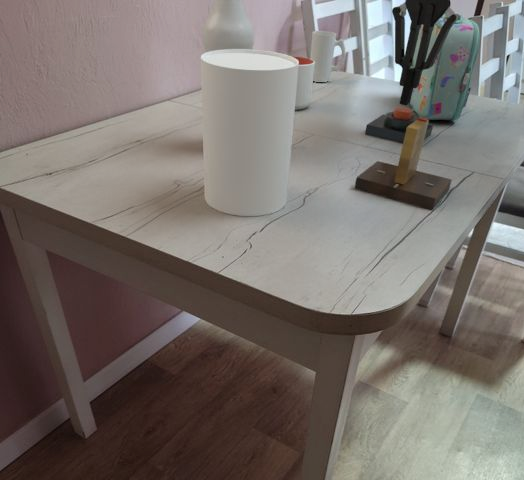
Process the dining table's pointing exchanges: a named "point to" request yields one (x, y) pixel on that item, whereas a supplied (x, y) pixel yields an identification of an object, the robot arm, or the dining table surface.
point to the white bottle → (227, 27)
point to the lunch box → (447, 72)
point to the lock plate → (413, 191)
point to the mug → (325, 54)
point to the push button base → (392, 128)
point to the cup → (304, 82)
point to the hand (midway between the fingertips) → (404, 103)
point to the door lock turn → (411, 150)
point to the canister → (247, 129)
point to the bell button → (402, 113)
